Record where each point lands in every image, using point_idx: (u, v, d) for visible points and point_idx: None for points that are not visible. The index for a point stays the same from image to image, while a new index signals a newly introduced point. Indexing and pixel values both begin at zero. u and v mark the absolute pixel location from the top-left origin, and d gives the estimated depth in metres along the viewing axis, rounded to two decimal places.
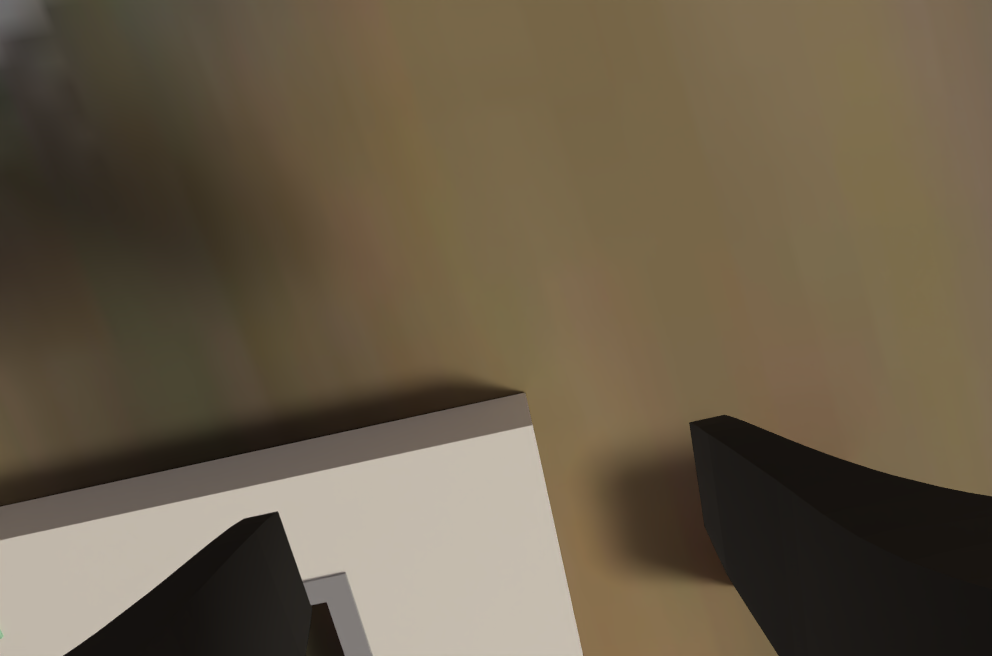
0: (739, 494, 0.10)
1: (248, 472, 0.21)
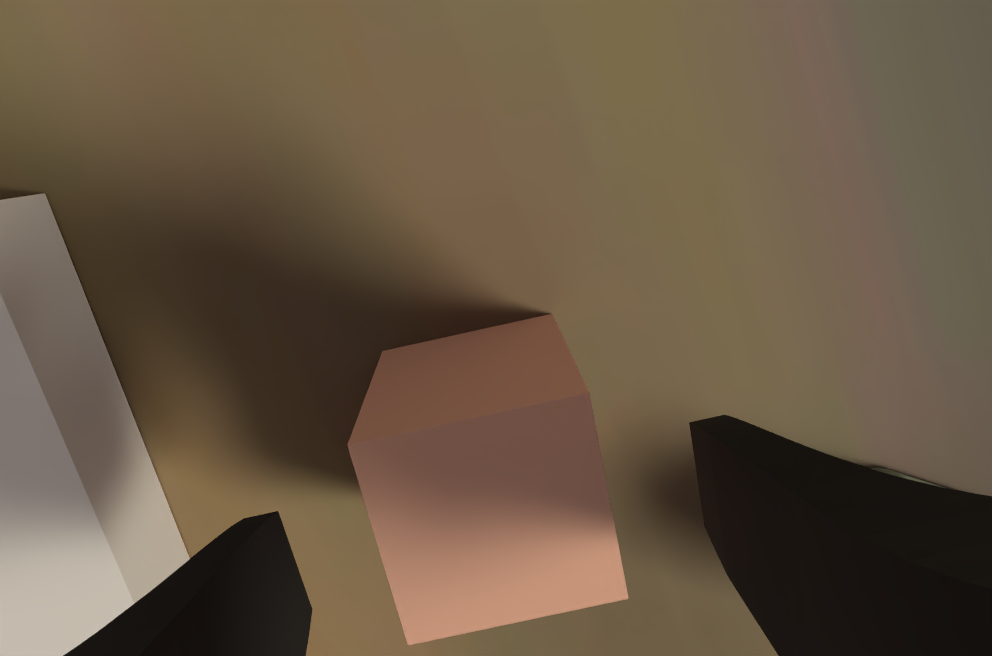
0: (739, 494, 0.10)
1: None
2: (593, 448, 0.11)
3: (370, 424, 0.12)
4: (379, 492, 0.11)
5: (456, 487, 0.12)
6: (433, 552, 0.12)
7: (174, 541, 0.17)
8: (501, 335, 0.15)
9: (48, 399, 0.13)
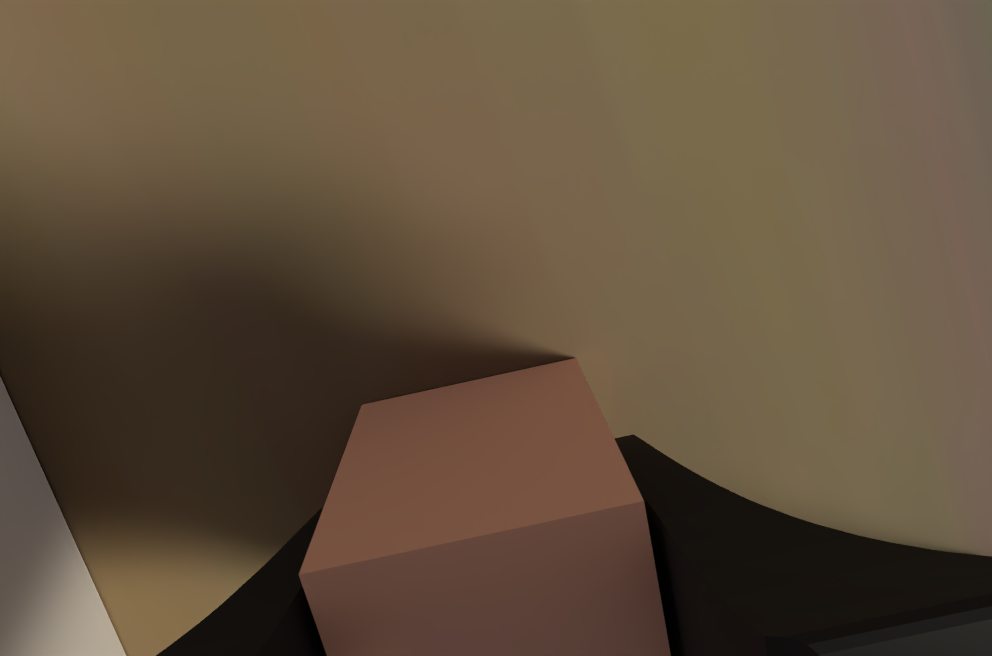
0: None
1: None
2: (647, 576, 0.08)
3: (334, 536, 0.08)
4: (345, 637, 0.08)
5: (454, 629, 0.08)
6: None
7: (104, 637, 0.13)
8: (513, 389, 0.12)
9: None
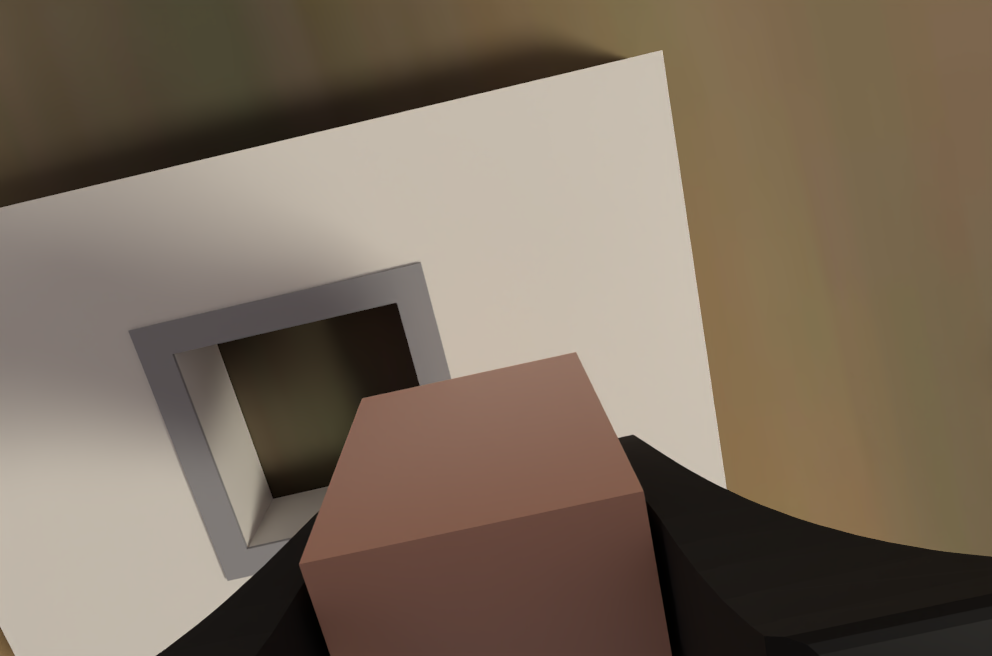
0: None
1: None
2: (647, 567, 0.08)
3: (334, 526, 0.09)
4: (345, 626, 0.08)
5: (453, 620, 0.08)
6: None
7: None
8: (513, 382, 0.12)
9: (684, 217, 0.17)
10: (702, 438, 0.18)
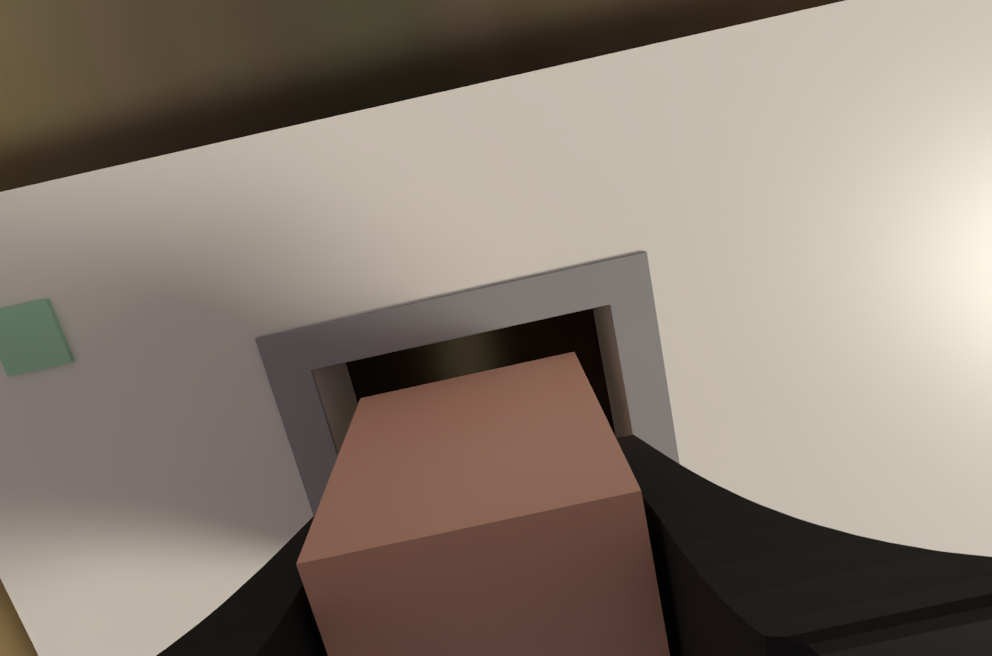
0: None
1: None
2: (645, 566, 0.08)
3: (331, 527, 0.08)
4: (342, 627, 0.08)
5: (451, 619, 0.08)
6: None
7: None
8: (511, 382, 0.12)
9: None
10: (980, 483, 0.14)
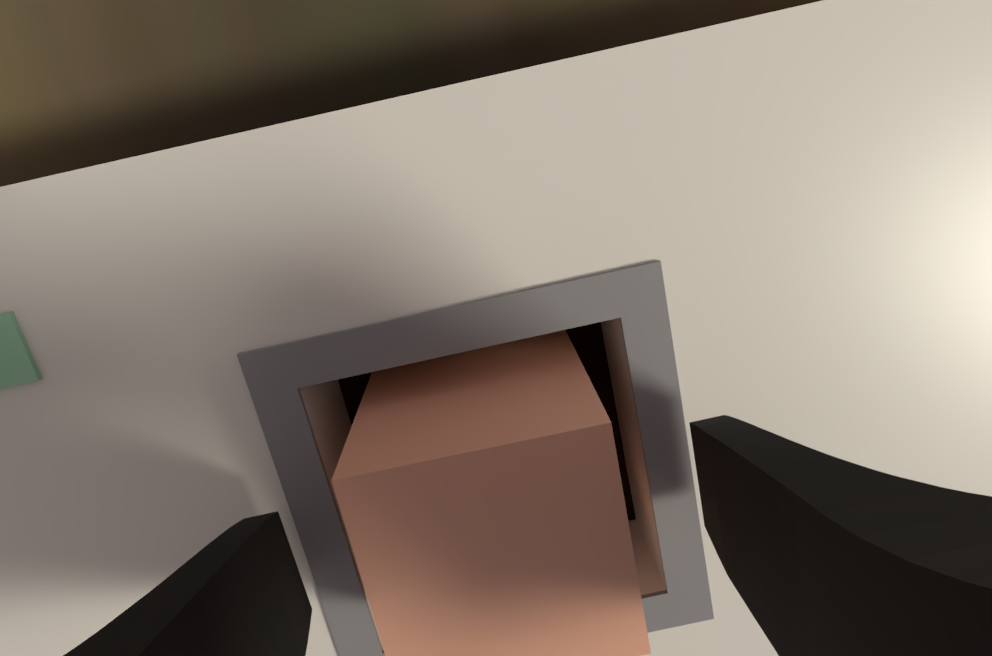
0: (739, 494, 0.10)
1: None
2: (614, 487, 0.10)
3: (359, 454, 0.10)
4: (368, 534, 0.10)
5: (456, 529, 0.10)
6: (429, 602, 0.10)
7: None
8: (507, 348, 0.14)
9: None
10: None
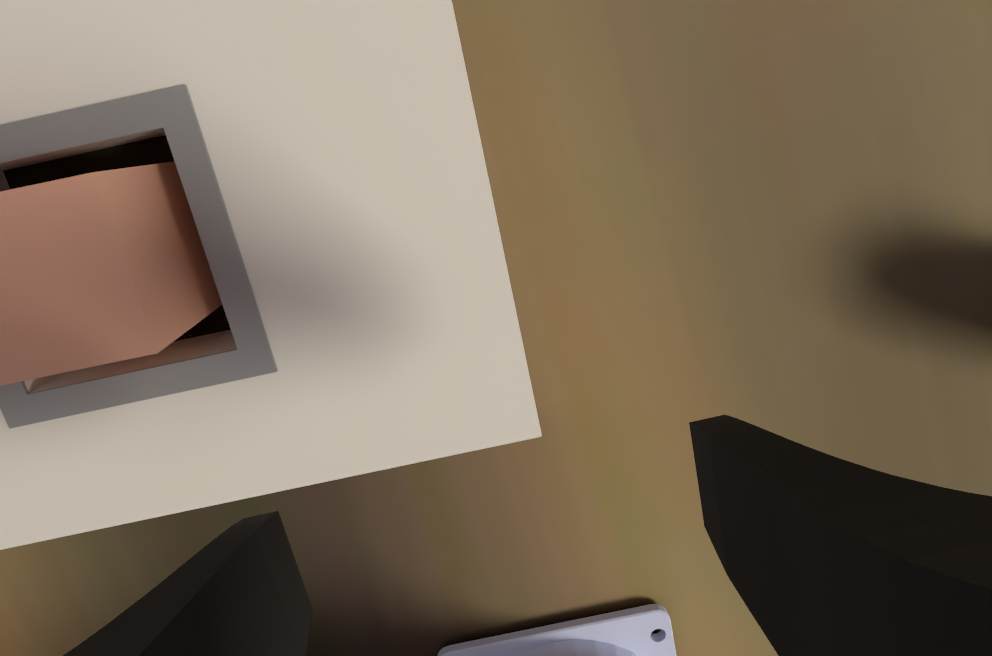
0: (739, 494, 0.10)
1: None
2: (104, 221, 0.14)
3: None
4: None
5: None
6: None
7: None
8: None
9: (459, 44, 0.16)
10: (493, 286, 0.18)
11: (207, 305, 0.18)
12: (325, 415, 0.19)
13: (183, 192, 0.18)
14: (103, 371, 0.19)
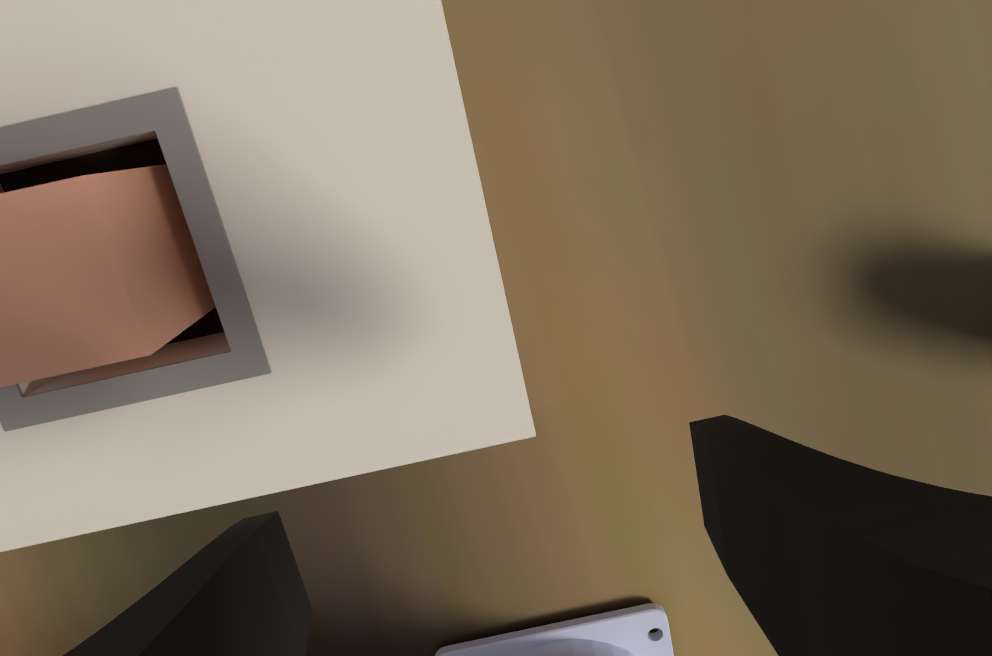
0: (739, 494, 0.10)
1: None
2: (96, 224, 0.15)
3: None
4: None
5: None
6: None
7: None
8: None
9: (449, 45, 0.16)
10: (486, 286, 0.18)
11: (201, 307, 0.19)
12: (319, 416, 0.19)
13: (176, 195, 0.18)
14: (98, 374, 0.19)
